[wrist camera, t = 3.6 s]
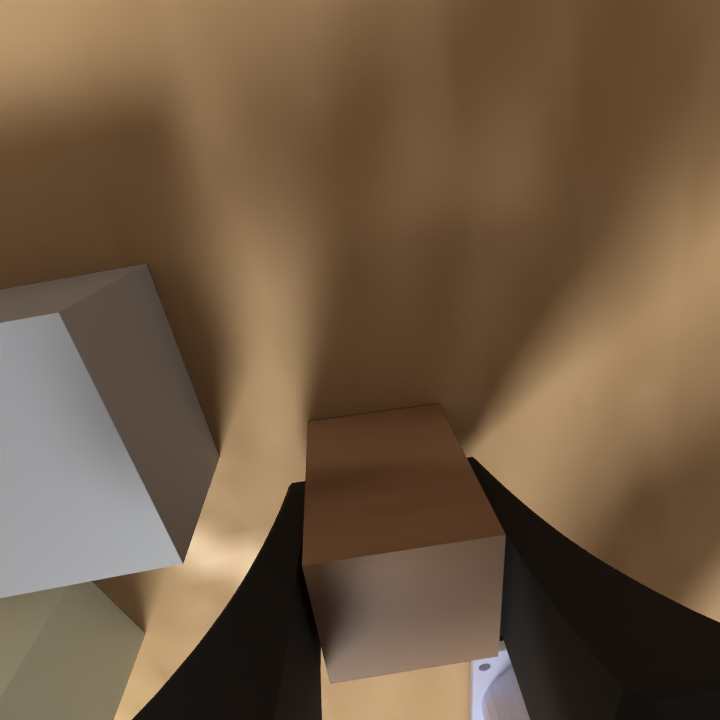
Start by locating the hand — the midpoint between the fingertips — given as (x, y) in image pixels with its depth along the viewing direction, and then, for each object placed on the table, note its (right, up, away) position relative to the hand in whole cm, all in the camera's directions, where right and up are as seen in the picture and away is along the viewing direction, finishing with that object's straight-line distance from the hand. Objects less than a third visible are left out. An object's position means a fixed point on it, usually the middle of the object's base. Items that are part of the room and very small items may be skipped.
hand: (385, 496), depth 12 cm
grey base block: (-8, +3, -1) cm, 9 cm away
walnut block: (0, +1, +1) cm, 1 cm away
